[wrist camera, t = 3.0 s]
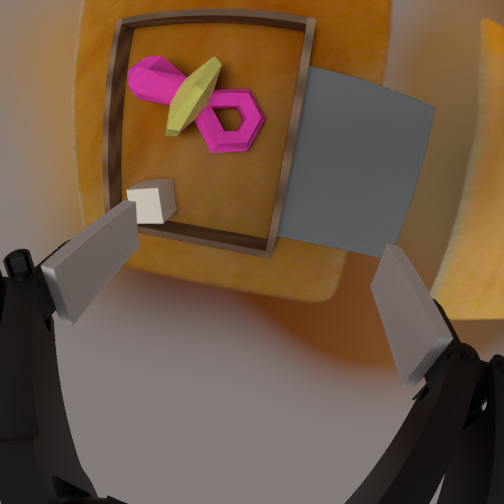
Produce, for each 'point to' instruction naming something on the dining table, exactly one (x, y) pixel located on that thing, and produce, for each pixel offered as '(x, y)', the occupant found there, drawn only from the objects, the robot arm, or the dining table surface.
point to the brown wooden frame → (115, 113)
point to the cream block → (153, 200)
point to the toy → (197, 102)
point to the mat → (353, 163)
